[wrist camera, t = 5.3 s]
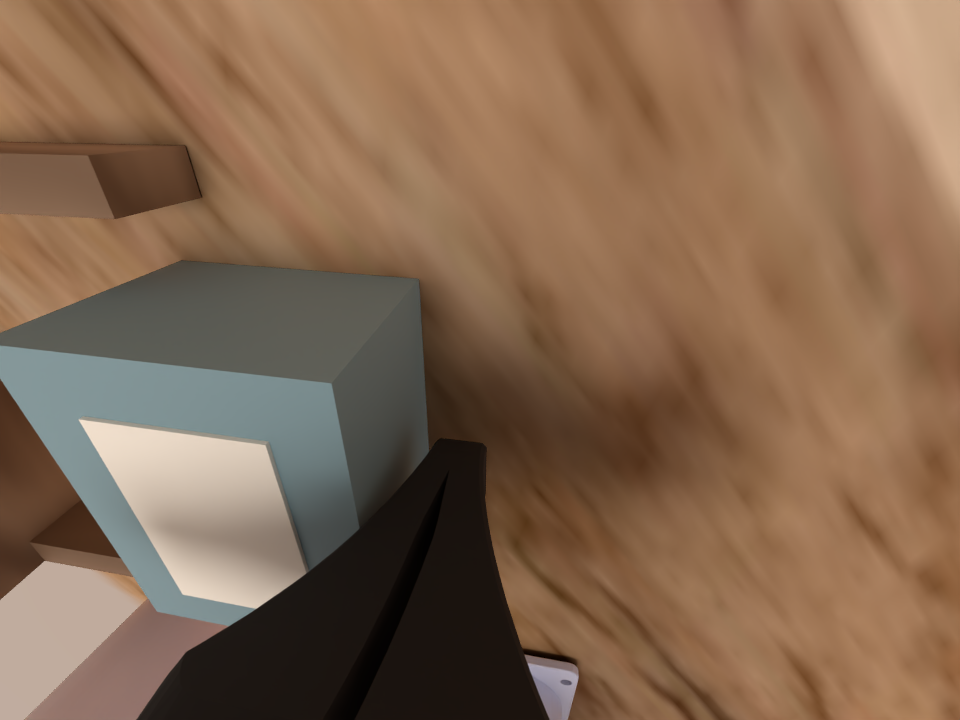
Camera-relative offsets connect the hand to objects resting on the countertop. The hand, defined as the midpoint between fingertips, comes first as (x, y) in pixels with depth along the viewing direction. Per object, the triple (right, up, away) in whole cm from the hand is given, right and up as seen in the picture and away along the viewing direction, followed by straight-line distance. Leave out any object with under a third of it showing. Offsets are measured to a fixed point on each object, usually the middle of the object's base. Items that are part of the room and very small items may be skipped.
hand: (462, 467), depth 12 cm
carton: (-5, +2, +2) cm, 5 cm away
